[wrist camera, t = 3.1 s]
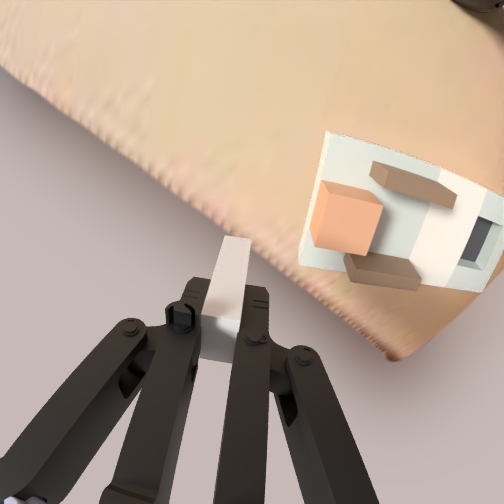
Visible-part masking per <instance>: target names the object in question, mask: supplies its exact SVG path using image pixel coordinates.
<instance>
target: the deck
mask: <svg viewBox="0 0 504 504" xmlns="http://www.w3.org/2000/svg"><path fill="white" fill-rule="evenodd" d="M321 180H325V181H330V182H335V183H339V184H343V185H348V186H352V187H356V188H360V189H364V190H368V191H370V192H371V193H372V194H373V195H374V196H375V197H376V198H377V199H378V200H379V201H380V202H381V203H382V204H383V209H382V212H381V215H380V218H379V221H378V224H377V227H376V230H375V233H374V236H373V238H372V241H371V244H370V247H369V249H368V252H367V255H366V256H363V255H357V254H352V253H346V252H340V251H334V250H329V249H323V248H317V247H314V244H313V240H312V236H311V232H310V228H309V227H310V223H311V219H312V215H313V211H314V207H315V203H316V199H317V195H318V191H319V186H320V182H321ZM503 250H504V197H503V196H502V195H500V194H498V193H496V192H494V191H492V190H490V189H488V188H486V187H484V186H482V185H480V184H478V183H476V182H474V181H472V180H470V179H467V178H465V177H463V176H461V175H459V174H456V173H454V172H452V171H449V170H447V169H445V168H442V167H440V166H437V165H435V164H432V163H430V162H427V161H425V160H422V159H419V158H417V157H414V156H411V155H408V154H405V153H402V152H400V151H397V150H394V149H390V148H387V147H384V146H381V145H378V144H375V143H371V142H368V141H364V140H361V139H357V138H354V137H350V136H346V135H342V134H338V133H334V132H330V131H326V134H325V139H324V144H323V149H322V153H321V158H320V162H319V167H318V171H317V176H316V180H315V185H314V189H313V193H312V198H311V202H310V206H309V210H308V214H307V218H306V222H305V226H304V230H303V234H302V238H301V242H300V246H299V250H298V259H299V265H302V266H309V267H315V268H321V269H328V270H334V271H341V272H347V273H348V275H349V278H350V281H351V282H356V283H363V284H370V285H377V286H384V287H391V288H398V289H405V290H413V291H417V289H418V287H419V285H420V284H426V285H432V286H439V287H446V288H453V289H459V290H466V291H473V292H480V293H482V291H483V289H484V287H485V286H486V284H487V282H488V280H489V278H490V277H491V275H492V273H493V271H494V269H495V267H496V265H497V263H498V261H499V259H500V257H501V255H502V252H503Z"/></svg>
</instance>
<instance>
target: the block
mask: <svg viewBox="0 0 504 504" xmlns="http://www.w3.org/2000/svg"><path fill="white" fill-rule="evenodd" d="M382 209H383V204H382V203H381V202H380V201H379V200H378V199H377V198H376V197H375V196H374V195H373V194H372V193H371V192H370V191H368V190H364V189H360V188H356V187H352V186H348V185H343V184H339V183H335V182H330V181H325V180H321V182H320V186H319V191H318V195H317V199H316V203H315V207H314V211H313V215H312V219H311V223H310V227H309V228H310V232H311V236H312V240H313V244H314V247H317V248H323V249H329V250H334V251H340V252H346V253H352V254H357V255H363V256H366V255H367V252H368V249H369V247H370V244H371V241H372V238H373V236H374V233H375V230H376V227H377V224H378V221H379V218H380V215H381V212H382Z"/></svg>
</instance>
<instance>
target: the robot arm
mask: <svg viewBox="0 0 504 504" xmlns="http://www.w3.org/2000/svg"><path fill="white" fill-rule="evenodd" d="M454 1H456V2H457V3H459V4H460V5H462V6H464V7H466V8H468V9H471V10H474V11H477V12H489V11H494V10H497V9H500V8H501V7H502V6H503V5H504V0H454ZM250 245H251V239H245V238H239V237H232V236H225V237H224V240H223V244H222V247H221V250H220V253H219V257H218V260H217V263H216V266H215V270H214V273H213V276H212V279H211V280H210V279H204V278H198V277H193V278H192V279H191V280H190V281H188V282H187V285H186V287H185V290H184V292H183V294H182V297H181V299H180V301H176V302H172V303H171V304H169V305H168V306H167V307H166V308H165V314H166V324H164V325H161V326H152V327H146V326H145V324H144V322H142V321H141V320H139V319H136V318H127V319H124V320H122V321H120V322H119V323H118V324H117V325H116V326H115V327H114V328H113V329H112V330H111V331H110V332H109V333H108V334H107V335H106V336H105V337H104V339H102V341H101V342H100V343H99V344H98V345H97V346H96V347H95V348H94V349H93V351H92V352H91V353H90V354H89V355H88V356H87V357H86V358H85V359H84V360H83V361H82V363H81V364H80V365H79V366H78V367H77V368H76V369H75V370H74V371H73V372H72V374H71V375H70V376H69V377H68V378H67V379H66V380H65V382H64V383H63V384H62V385H61V386H60V387H59V389H58V390H57V391H56V392H55V393H54V394H53V395H52V397H51V398H50V399H49V400H48V402H47V403H46V404H45V405H44V406H43V407H42V409H41V410H40V411H39V412H38V414H37V415H36V416H35V417H34V418H33V419H32V421H31V422H30V423H29V424H28V426H27V427H26V428H25V429H24V431H23V432H22V433H21V435H20V436H19V437H18V438H17V440H16V441H15V442H14V443H13V445H12V446H11V447H10V449H9V450H8V451H7V453H6V454H5V456H4V457H2V458H0V504H59V503H60V502H61V501H63V500H64V498H65V497H66V496H67V495H68V493H69V492H70V491H71V489H72V488H73V486H74V485H75V483H76V482H77V480H78V479H79V478H80V476H81V474H82V473H83V472H84V470H85V469H86V467H87V466H88V464H89V463H90V461H91V460H92V458H93V457H94V455H95V454H96V453H97V451H98V450H99V448H100V447H101V445H102V444H103V442H104V441H105V440H106V438H107V436H108V435H109V434H110V432H111V431H112V429H113V428H114V427H115V425H116V424H117V422H118V421H119V419H120V418H121V417H122V415H123V414H124V412H125V411H126V409H127V408H128V407H129V405H130V404H131V402H132V401H133V399H134V398H135V397H136V395H137V394H138V392H139V391H140V389H141V388H142V389H141V392H140V395H139V398H138V401H137V404H136V406H135V409H134V412H133V415H132V418H131V421H130V424H129V427H128V430H127V434H126V436H125V440H124V443H123V446H122V449H121V452H120V456H119V459H118V462H117V466H116V469H115V472H114V476H113V479H112V482H111V483H110V484H109V485H108V486H107V487H106V488H105V489H104V491H103V492H102V495H101V498H100V501H99V504H169V500H170V494H171V489H172V484H173V479H174V474H175V469H176V464H177V460H178V455H179V449H180V445H181V441H182V436H183V431H184V427H185V422H186V418H187V413H188V408H189V404H190V400H191V395H192V391H193V387H194V382H195V378H196V374H197V369H198V359H199V355H200V358H203V359H208V360H214V361H220V362H226V363H233V364H232V370H231V376H230V384H229V391H228V398H227V405H226V412H225V420H224V426H223V434H222V441H221V448H220V455H219V462H218V470H217V477H216V484H215V491H214V499H213V504H264V497H265V481H266V480H265V479H266V461H267V438H268V437H267V436H268V411H269V391H270V392H273V393H274V397H275V401H276V404H277V408H278V412H279V415H280V419H281V422H282V426H283V430H284V433H285V437H286V440H287V444H288V448H289V451H290V455H291V458H292V462H293V465H294V469H295V472H296V476H297V479H298V483H299V486H300V489H301V493H302V496H303V500H304V503H305V504H379V501H378V499H377V496H376V494H375V491H374V488H373V486H372V483H371V480H370V478H369V475H368V473H367V470H366V468H365V465H364V463H363V460H362V458H361V455H360V453H359V450H358V448H357V445H356V443H355V440H354V438H353V435H352V433H351V431H350V428H349V426H348V423H347V421H346V418H345V416H344V414H343V411H342V409H341V406H340V404H339V401H338V399H337V397H336V394H335V392H334V389H333V387H332V385H331V382H330V380H329V378H328V375H327V373H326V371H325V368H324V366H323V363H322V361H321V359H320V356H319V355H318V353H317V352H316V351H315V350H313V349H312V348H310V347H308V346H303V345H298V346H294V347H293V348H291V349H287V348H284V347H282V346H280V345H278V344H276V343H275V342H274V341H273V340H272V339H271V338H270V336H269V331H268V329H269V327H268V326H269V293H268V292H267V290H266V288H265V287H259V286H253V285H246V284H245V283H246V275H247V268H248V260H249V253H250Z"/></svg>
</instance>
